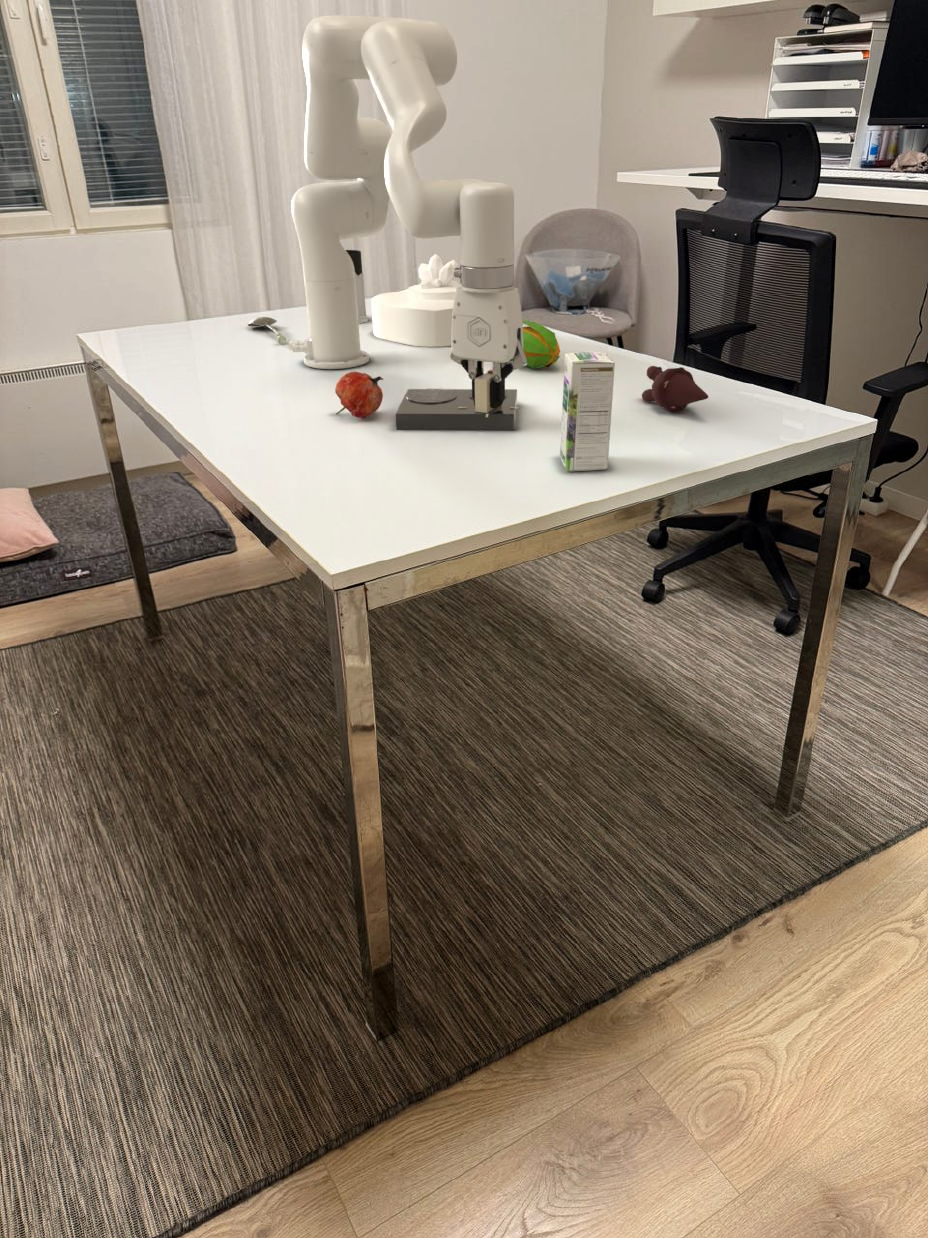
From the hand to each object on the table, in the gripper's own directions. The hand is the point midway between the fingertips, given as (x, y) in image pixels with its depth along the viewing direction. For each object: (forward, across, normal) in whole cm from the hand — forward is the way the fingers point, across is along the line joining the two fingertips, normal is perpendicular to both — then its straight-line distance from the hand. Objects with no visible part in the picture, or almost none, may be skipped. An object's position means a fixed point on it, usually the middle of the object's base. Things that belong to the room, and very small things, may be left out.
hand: (488, 403), depth 141 cm
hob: (+3, -6, +2) cm, 7 cm away
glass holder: (+3, -67, +61) cm, 91 cm away
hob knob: (+1, 0, 0) cm, 1 cm away
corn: (+3, -11, +39) cm, 40 cm away
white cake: (+3, -41, +55) cm, 69 cm away
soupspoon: (+3, -74, +39) cm, 83 cm away
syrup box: (+3, +20, -11) cm, 23 cm away
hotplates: (+1, -8, +4) cm, 9 cm away
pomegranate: (+3, -21, -5) cm, 22 cm away
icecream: (+3, +23, +19) cm, 30 cm away
